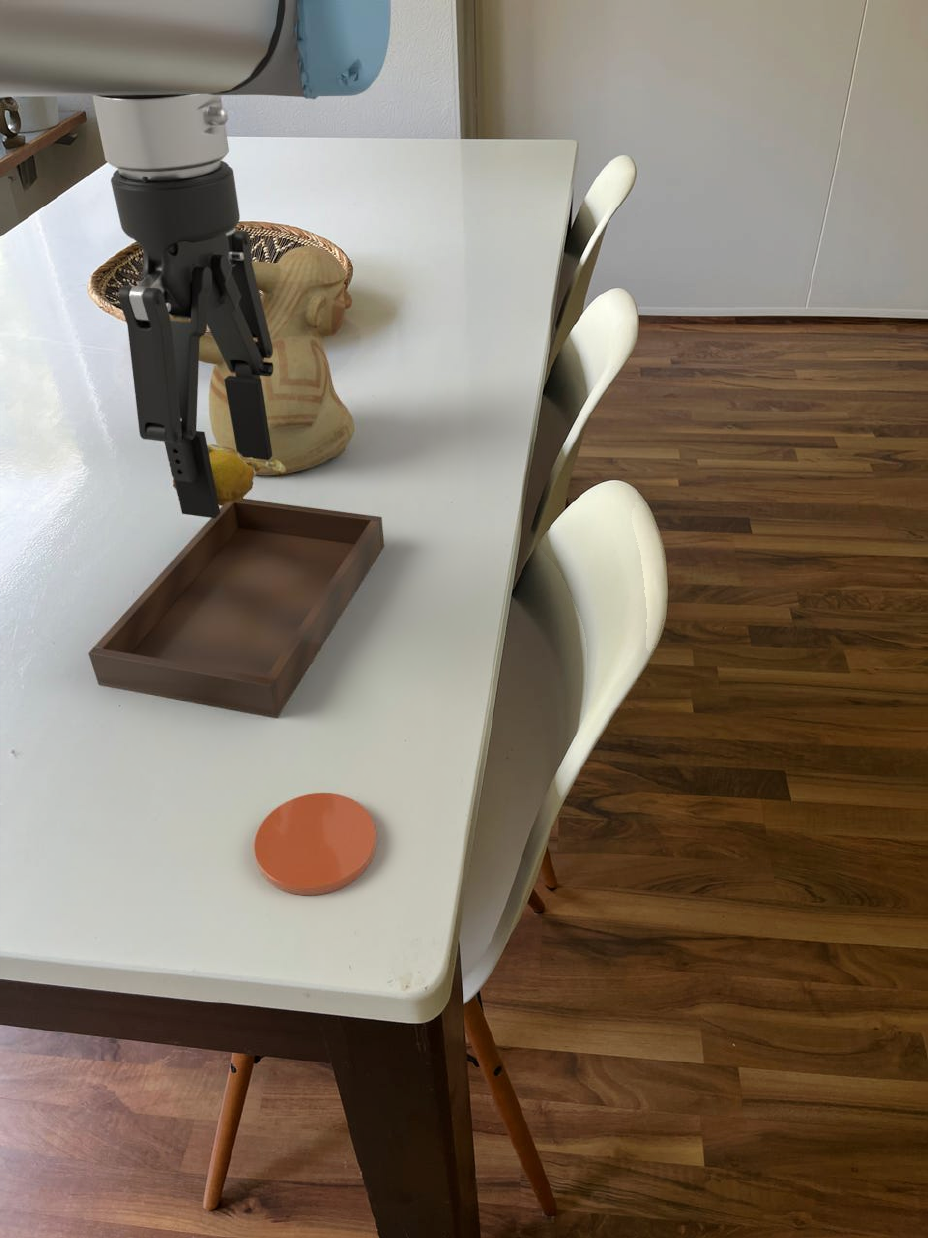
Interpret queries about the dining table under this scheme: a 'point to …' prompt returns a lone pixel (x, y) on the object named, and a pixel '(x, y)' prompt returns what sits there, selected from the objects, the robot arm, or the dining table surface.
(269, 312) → the ceramic vessel
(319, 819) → the plate
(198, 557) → the bin
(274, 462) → the fruit
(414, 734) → the dining table surface
